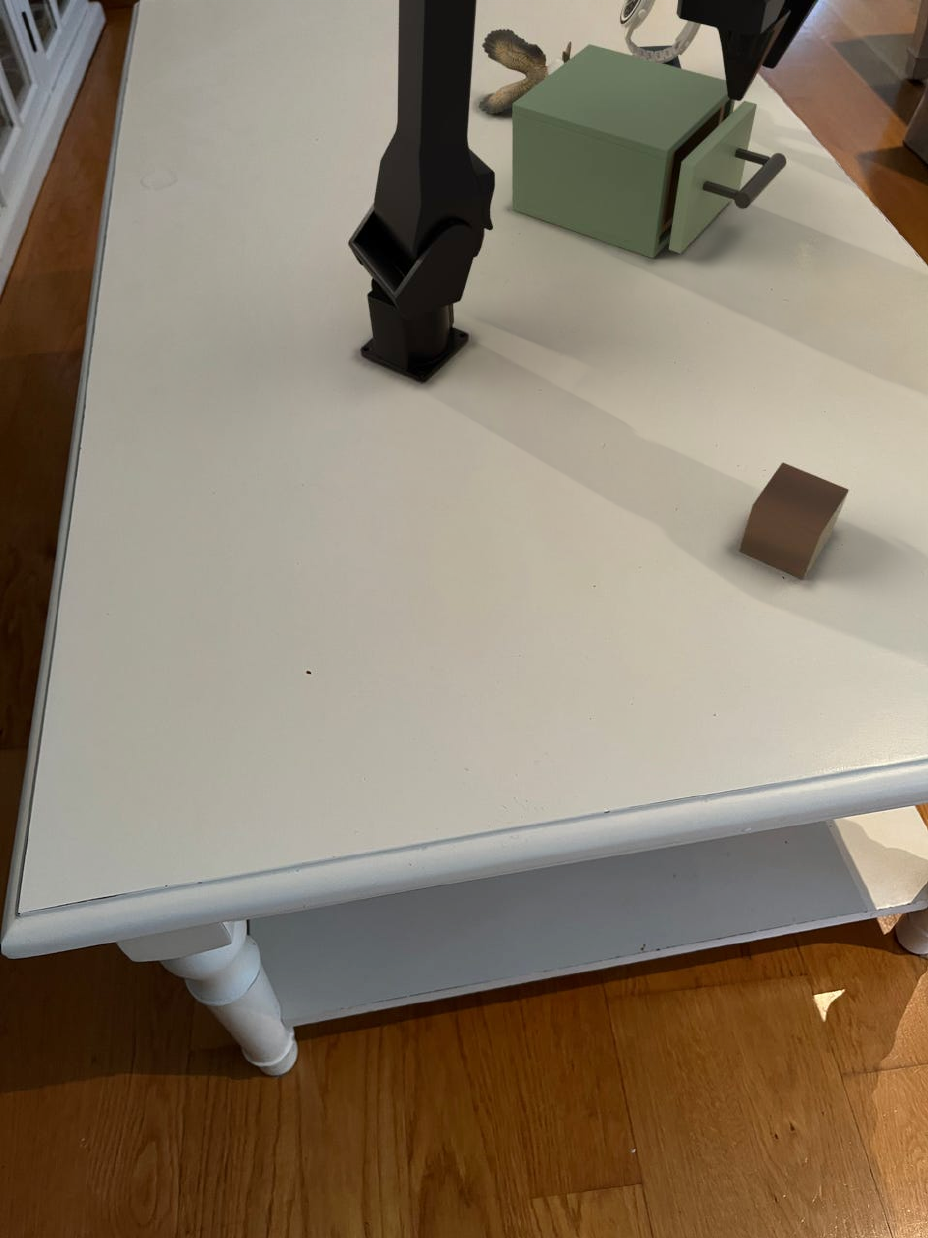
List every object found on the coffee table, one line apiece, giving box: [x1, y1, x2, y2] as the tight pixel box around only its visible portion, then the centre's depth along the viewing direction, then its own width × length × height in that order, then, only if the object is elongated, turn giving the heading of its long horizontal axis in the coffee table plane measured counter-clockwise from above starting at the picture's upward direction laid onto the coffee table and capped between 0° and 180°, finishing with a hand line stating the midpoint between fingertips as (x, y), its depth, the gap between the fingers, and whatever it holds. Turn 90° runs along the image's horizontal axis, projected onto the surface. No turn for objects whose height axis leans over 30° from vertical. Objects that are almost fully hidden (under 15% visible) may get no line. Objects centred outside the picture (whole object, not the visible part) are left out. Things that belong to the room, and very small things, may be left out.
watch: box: [619, 0, 702, 69], centre depth 97 cm, size 6×8×11 cm
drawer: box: [660, 100, 787, 254], centre depth 84 cm, size 18×11×8 cm, turn 55°
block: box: [738, 462, 850, 580], centre depth 63 cm, size 4×4×4 cm
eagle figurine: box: [478, 28, 572, 114], centre depth 98 cm, size 8×7×9 cm
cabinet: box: [511, 43, 736, 259], centre depth 85 cm, size 15×13×10 cm
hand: (752, 82), depth 75 cm, fingers open, 6 cm apart
